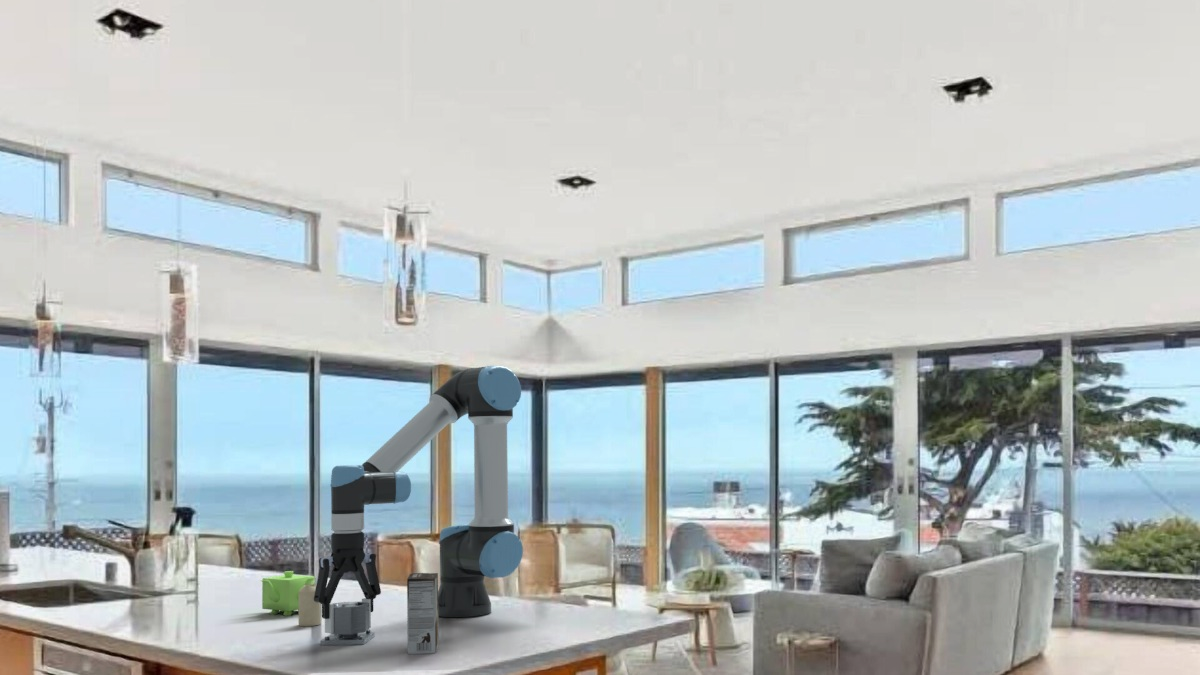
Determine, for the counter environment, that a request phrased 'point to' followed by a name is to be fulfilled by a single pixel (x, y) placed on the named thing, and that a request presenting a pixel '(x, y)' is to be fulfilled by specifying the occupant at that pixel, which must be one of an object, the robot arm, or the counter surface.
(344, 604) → the bolted post base
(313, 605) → the candle
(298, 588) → the kettle
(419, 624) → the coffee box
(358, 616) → the collar
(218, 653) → the counter surface
